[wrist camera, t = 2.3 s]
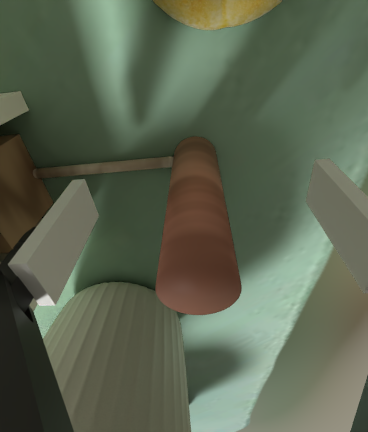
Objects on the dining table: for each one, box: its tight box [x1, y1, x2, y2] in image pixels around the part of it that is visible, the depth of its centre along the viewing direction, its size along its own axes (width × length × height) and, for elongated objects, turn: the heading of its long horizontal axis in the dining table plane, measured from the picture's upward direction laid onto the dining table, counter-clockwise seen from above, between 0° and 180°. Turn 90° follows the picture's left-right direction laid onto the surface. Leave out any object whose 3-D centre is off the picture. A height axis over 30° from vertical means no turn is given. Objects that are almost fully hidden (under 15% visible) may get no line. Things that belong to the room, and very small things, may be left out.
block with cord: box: [0, 134, 241, 315], centre depth 15 cm, size 6×20×12 cm, turn 96°
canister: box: [43, 282, 191, 432], centre depth 23 cm, size 18×18×21 cm
